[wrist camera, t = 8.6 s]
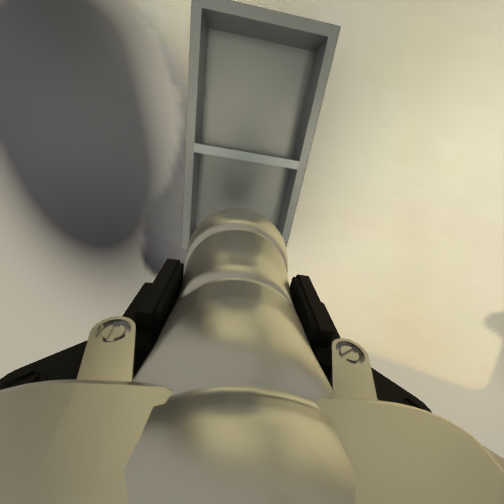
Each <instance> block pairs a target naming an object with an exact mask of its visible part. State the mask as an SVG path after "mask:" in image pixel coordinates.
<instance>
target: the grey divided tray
mask: <svg viewBox="0 0 504 504" xmlns="http://www.w3.org/2000/svg"><path fill="white" fill-rule="evenodd" d="M340 28H341V26H337V25H333V24H329V23H324V22H320V21H316V20H312V19H307V18H303V17H299V16H295V15H291V14H286V13H282V12H278V11H274V10H269V9H265V8H261V7H257V6H252V5H248V4H244V3H240V2H235V1H231V0H192V2H191V27H190V52H189V77H188V102H187V127H186V152H185V177H184V202H183V227H182V249H187V248H188V243H189V240H190V238H191V236H192V234H193V232H194V231H195V229H196V228H197V226H198V225H199V224H201V223H202V222H203V221H204V220H205V219H206V218H208V217H209V216H210V215H212V214H214V213H215V212H217V211H220V210H223V209H226V208H232V207H241V208H247V209H251V210H254V211H256V212H258V213H260V214H262V215H263V216H264V217H265V218H267V219H268V220H269V221H270V222H271V223H272V224H273V225H274V226H275V227H276V228H277V229H278V231H279V232H280V234H281V236H282V238H283V240H284V243H285V247H287V243H288V239H289V235H290V231H291V226H292V222H293V218H294V214H295V210H296V206H297V202H298V198H299V194H300V190H301V186H302V182H303V178H304V174H305V170H306V166H307V162H308V157H309V153H310V149H311V145H312V141H313V137H314V133H315V129H316V125H317V121H318V117H319V113H320V109H321V105H322V101H323V97H324V92H325V88H326V84H327V80H328V76H329V72H330V68H331V64H332V60H333V56H334V52H335V48H336V44H337V40H338V36H339V32H340Z"/></svg>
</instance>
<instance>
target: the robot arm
mask: <svg viewBox="0 0 504 504" xmlns="http://www.w3.org/2000/svg"><path fill="white" fill-rule="evenodd" d="M183 269H184V264H183V263H180V260H175V259H167V260H166V262H165V264H164V265H163V267H162V269H161V270H160V272H159V273H158V275H157V277H156V278H155V280H154V282H153V283H145V284H144V285H143V286H142V288H141V289H140V291H139V292H138V294H137V295H136V297H135V298H134V300H133V301H132V303H131V304H130V306H129V307H128V309H127V310H126V312H125V313H124V315H123V316H121V317H111V318H108V319H105V320H102V321H101V322H99V323H97V324H96V325H95V326H94V327H93V328H92V330H91V332H90V334H89V338H88V340H87V341H85V342H82V343H80V344H77V345H75V346H73V347H70V348H68V349H65V350H63V351H61V352H58V353H55V354H53V355H51V356H48V357H46V358H43V359H41V360H38V361H36V362H34V363H31V364H29V365H26V366H24V367H21V368H19V369H17V370H15V371H13V372H11V373H9V374H7V375H6V376H4V377H3V378H1V379H0V504H129V500H128V494H127V488H126V483H125V477H124V469H125V467H126V464H127V462H128V460H129V458H130V456H131V454H132V452H133V450H134V448H135V446H136V444H137V442H138V440H139V438H140V436H141V434H142V432H143V429H144V427H145V425H146V422H147V420H148V418H149V415H150V413H151V411H152V409H153V407H154V406H157V405H161V404H165V403H166V401H167V399H168V398H169V396H170V394H171V393H172V391H173V389H166V387H164V386H160V385H157V384H153V383H148V382H132V380H133V378H134V377H135V375H136V373H137V372H138V370H139V369H140V367H141V365H142V364H143V362H144V361H145V359H146V358H147V356H148V354H149V353H150V351H151V350H152V348H153V346H154V345H155V343H156V341H157V339H158V337H159V335H160V333H161V331H162V329H163V327H164V325H165V323H166V321H167V319H168V317H169V315H170V313H171V311H172V309H173V307H174V305H175V302H176V300H177V298H178V296H179V292H180V288H181V284H182V280H183ZM290 293H291V298H292V302H293V304H294V307H295V309H296V313H297V315H298V317H299V319H300V322H301V324H302V327H303V329H304V332H305V334H306V337H307V339H308V342H309V344H310V347H311V349H312V351H313V353H314V355H315V357H316V359H317V361H318V363H319V364H320V366H321V368H322V370H323V372H324V374H325V376H326V378H327V380H328V382H329V384H330V385H331V387H332V389H333V391H334V393H335V395H336V396H327V397H322V398H320V399H314V400H315V401H316V403H317V405H318V407H319V409H320V411H321V412H323V413H324V414H326V415H328V416H330V417H331V419H332V421H333V424H334V426H335V429H336V431H337V434H338V436H339V439H340V441H341V444H342V446H343V448H344V450H345V453H346V455H347V457H348V459H349V461H350V463H351V466H352V468H353V470H354V472H355V474H356V476H357V480H356V494H355V504H504V459H503V458H501V457H500V456H498V455H497V454H495V453H494V452H492V451H490V450H489V449H487V448H486V447H484V446H482V445H481V444H480V443H479V442H478V441H477V440H476V439H475V438H473V436H471V435H470V434H469V433H467V432H466V431H465V430H464V429H462V428H461V427H459V426H457V425H456V424H454V423H452V422H450V421H449V420H446V419H445V418H443V417H440V416H438V415H435V414H433V413H432V412H431V410H430V409H429V408H428V407H427V406H426V405H425V404H424V403H423V402H422V401H420V400H419V399H418V398H416V397H415V396H413V395H412V394H410V393H409V392H407V391H406V390H404V389H403V388H401V387H400V386H398V385H397V384H395V383H394V382H392V381H391V380H389V379H388V378H386V377H385V376H383V375H382V374H380V373H379V372H377V371H376V370H374V369H373V368H371V365H370V360H369V357H368V354H367V352H366V351H365V350H364V349H363V348H362V347H361V346H360V345H359V344H357V343H356V342H354V341H352V340H349V339H345V338H340V336H339V334H338V332H337V330H336V328H335V326H334V323H333V321H332V319H331V317H330V315H329V313H328V311H327V309H326V307H325V305H324V304H323V303H322V302H321V301H320V299H319V297H318V295H317V293H316V291H315V289H314V287H313V284H312V282H311V280H310V278H309V276H304V275H297V276H296V277H293V278H292V281H291V285H290Z"/></svg>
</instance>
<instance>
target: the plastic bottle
mask: <svg viewBox="0 0 504 504" xmlns="http://www.w3.org/2000/svg"><path fill="white" fill-rule="evenodd" d="M287 272H288V263H287V252H286V247H285V243H284V240H283V238H282V236H281V234H280V232H279V231H278V229H277V228H276V227H275V226H274V225H273V224H272V223H271V222H270V221H269V220H268V219H267V218H265V217H264V216H263V215H262V214H260V213H258V212H256V211H254V210H251V209H247V208H241V207H232V208H226V209H223V210H220V211H217V212H215V213H214V214H212V215H210V216H209V217H208V218H206V219H205V220H204V221H203V222H202V223H201V224H199V225H198V226H197V228H196V229H195V231H194V232H193V234H192V236H191V238H190V240H189V243H188V248H187V253H186V259H185V273H184V276H183V280H182V284H181V288H180V292H179V296H178V298H177V300H176V302H175V305H174V307H173V309H172V311H171V313H170V315H169V317H168V319H167V321H166V323H165V325H164V327H163V329H162V331H161V333H160V335H159V337H158V339H157V341H156V343H155V345H154V346H153V348H152V350H151V351H150V353H149V354H148V356H147V358H146V359H145V361H144V362H143V364H142V365H141V367H140V369H139V370H138V372H137V373H136V375H135V377H134V378H133V380H132V382H148V383H153V384H157V385H160V386H164V387H166V389H173V391H172V393H171V394H170V396H169V398H168V399H167V401H166V403H165V404H161V405H157V406H154V407H153V409H152V411H151V413H150V415H149V418H148V420H147V422H146V425H145V427H144V429H143V432H142V434H141V436H140V438H139V440H138V442H137V444H136V446H135V448H134V450H133V452H132V454H131V456H130V458H129V460H128V462H127V464H126V467H125V469H124V477H125V483H126V488H127V494H128V500H129V504H355V494H356V480H357V476H356V474H355V472H354V470H353V468H352V466H351V463H350V461H349V459H348V457H347V455H346V453H345V450H344V448H343V446H342V444H341V441H340V439H339V436H338V434H337V431H336V429H335V426H334V424H333V421H332V419H331V417H330V416H328V415H326V414H324V413H323V412H321V411H320V409H319V407H318V405H317V403H316V401H315V400H314V399H320V398H322V397H327V396H336V395H335V393H334V391H333V389H332V387H331V385H330V384H329V382H328V380H327V378H326V376H325V374H324V372H323V370H322V368H321V366H320V364H319V363H318V361H317V359H316V357H315V355H314V353H313V351H312V349H311V347H310V344H309V342H308V339H307V337H306V334H305V332H304V329H303V327H302V324H301V322H300V319H299V317H298V315H297V313H296V309H295V307H294V304H293V302H292V298H291V293H290V287H289V282H288V276H287Z"/></svg>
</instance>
